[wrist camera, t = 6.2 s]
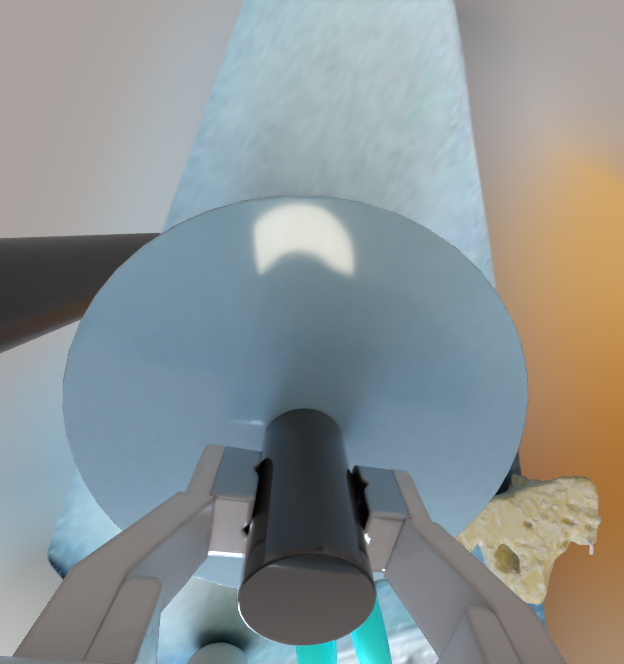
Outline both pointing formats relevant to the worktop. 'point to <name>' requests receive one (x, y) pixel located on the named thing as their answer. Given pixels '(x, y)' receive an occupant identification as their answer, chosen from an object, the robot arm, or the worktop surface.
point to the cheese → (533, 530)
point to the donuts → (367, 639)
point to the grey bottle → (218, 655)
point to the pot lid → (297, 389)
